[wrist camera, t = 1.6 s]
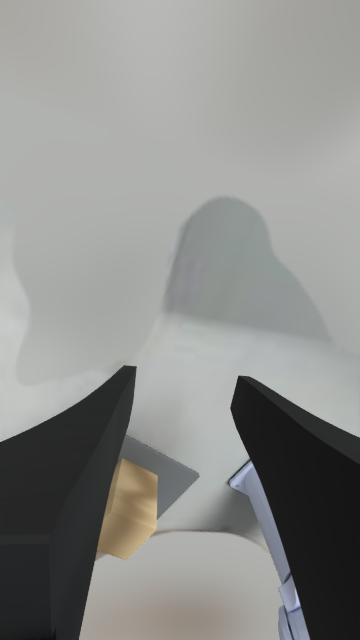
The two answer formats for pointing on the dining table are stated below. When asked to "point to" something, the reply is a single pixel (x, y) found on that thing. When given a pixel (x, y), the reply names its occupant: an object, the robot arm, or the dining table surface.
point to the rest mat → (159, 472)
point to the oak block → (129, 510)
